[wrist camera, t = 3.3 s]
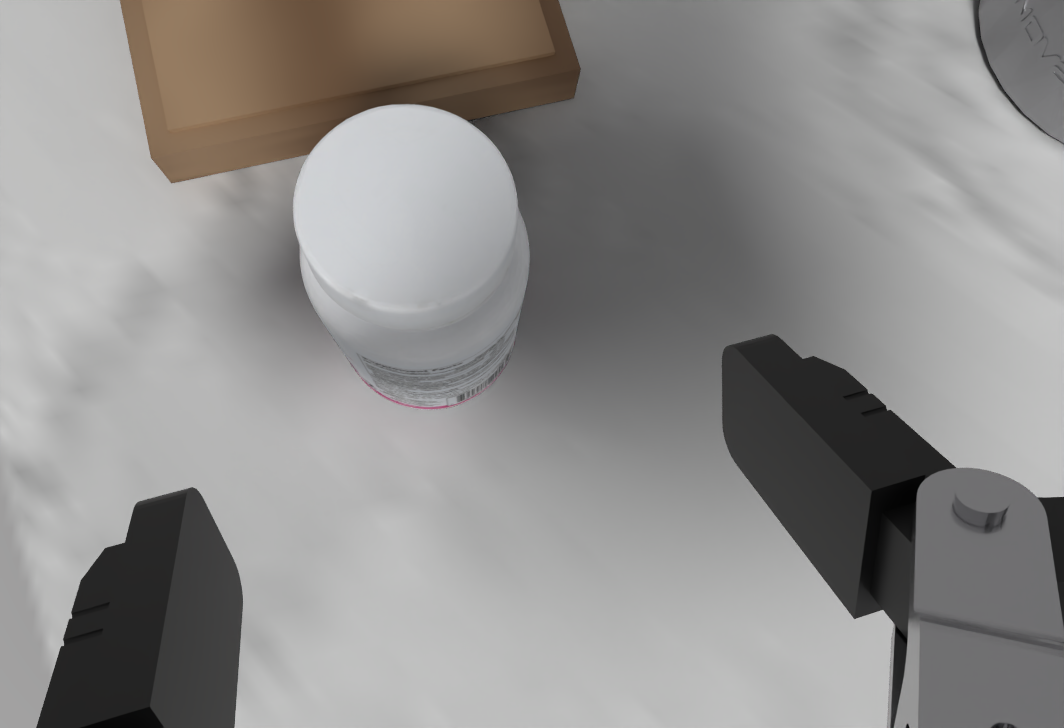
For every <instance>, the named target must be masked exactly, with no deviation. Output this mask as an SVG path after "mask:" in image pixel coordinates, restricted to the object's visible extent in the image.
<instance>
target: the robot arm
mask: <svg viewBox="0 0 1064 728" xmlns="http://www.w3.org/2000/svg"><path fill="white" fill-rule="evenodd" d="M979 21H980V31H981V39H982V42H983V45H984V48H985V51H986V54H987V57H988V60H989V63H990V66H991V68H992V69H993V71H994V73H995V75H996V76H997V78H998V80H999V82H1000V83H1001V85H1002V87H1003V89H1004V91H1005V92H1006V93H1007V94H1008V95H1009V96H1010V98H1011V99H1012V100H1013V101H1014V102H1015V104H1016V105H1017V106H1018V107H1019V108H1020V110H1021V111H1022V112H1023V113H1024V114H1025V115H1026V116H1027V117H1028V118H1030V119H1031V120H1032V121H1033V122H1034V123H1035V124H1037V125H1038V126H1039V127H1040V128H1041V129H1043V130H1044V131H1045V132H1046V133H1047V134H1049V135H1050V136H1052V137H1054V138H1056V139H1057V140H1059V141H1061V142H1062V143H1064V0H980V5H979ZM722 421H723V432H724V437H725V441H726V444H727V447H728V450H729V452H730V454H731V456H732V458H733V460H734V462H735V463H736V464H737V466H738V467H739V468H740V470H741V471H742V472H743V474H744V475H745V476H746V478H747V479H748V480H749V482H750V483H751V484H752V485H753V487H754V488H755V489H756V491H757V492H758V493H759V495H760V496H761V497H762V499H763V500H764V501H765V502H766V504H767V505H768V506H769V508H770V509H771V510H772V512H773V513H774V514H775V516H776V517H777V518H778V520H779V521H780V522H781V523H782V525H783V526H784V527H785V529H786V530H787V531H788V533H789V534H790V535H791V537H792V538H793V539H794V541H795V542H796V543H797V544H798V546H799V547H800V548H801V550H802V551H803V552H804V554H805V555H806V556H807V558H808V559H809V560H810V561H811V563H812V564H813V565H814V567H815V568H816V569H817V571H818V572H819V573H820V575H821V576H822V577H823V579H824V580H825V581H826V582H827V584H828V585H829V586H830V588H831V589H832V590H833V592H834V593H835V594H836V596H837V597H838V598H839V599H840V601H841V602H842V603H843V605H844V606H845V607H846V609H847V610H848V611H849V613H850V614H851V615H852V617H853V618H854V619H856V618H859V617H862V616H865V615H868V614H871V613H874V612H877V611H880V610H884V611H885V613H886V614H887V615H888V616H889V618H890V619H891V620H892V621H893V622H894V626H893V632H892V638H891V657H890V677H889V696H888V716H887V728H1064V497H1050V498H1037V497H1036V496H1035V495H1034V494H1033V493H1032V492H1031V491H1030V490H1028V489H1027V488H1026V487H1024V486H1023V485H1021V484H1020V483H1018V482H1016V481H1014V480H1012V479H1010V478H1008V477H1006V476H1003V475H1001V474H998V473H994V472H991V471H987V470H981V469H974V468H956V467H955V466H954V465H952V464H951V463H950V462H949V461H948V460H947V459H946V458H945V457H943V456H942V455H941V454H940V453H939V452H938V451H937V450H935V449H934V448H933V447H932V446H931V445H930V444H929V443H928V442H926V441H925V440H924V439H923V438H922V437H921V436H920V435H918V434H917V433H916V432H915V431H914V430H913V429H912V428H910V427H909V426H908V425H907V424H906V423H905V422H904V421H903V420H901V419H900V418H899V417H898V416H897V415H896V414H895V413H893V412H892V411H891V410H888V411H887V409H886V405H884V404H883V403H882V402H881V401H880V400H879V399H878V398H876V397H875V396H874V395H873V394H869V393H868V390H867V389H866V388H865V387H864V386H863V385H862V384H861V383H859V382H858V381H857V380H856V379H855V378H854V377H853V376H852V375H850V374H849V373H848V372H847V371H846V370H844V369H842V368H840V367H837V366H835V365H833V364H830V363H828V362H826V361H824V360H821V359H819V358H817V357H814V356H812V357H809V358H805V359H802V358H801V357H800V356H799V355H798V354H796V353H795V352H794V351H793V350H792V349H791V348H790V347H789V346H788V345H787V344H786V343H785V342H784V341H783V340H781V339H780V338H779V337H778V336H776V335H773V334H771V335H767V336H763V337H759V338H756V339H752V340H748V341H744V342H741V343H737V344H733V345H729V346H727V347H726V348H725V349H724V352H723V356H722ZM242 609H243V595H242V587H241V581H240V577H239V573H238V570H237V567H236V564H235V562H234V559H233V557H232V555H231V553H230V551H229V549H228V547H227V545H226V543H225V541H224V539H223V537H222V535H221V533H220V531H219V529H218V527H217V525H216V523H215V521H214V519H213V517H212V515H211V513H210V511H209V509H208V507H207V505H206V503H205V501H204V499H203V497H202V496H201V494H200V493H199V491H198V490H197V489H195V488H193V487H192V488H188V489H184V490H181V491H177V492H173V493H169V494H166V495H162V496H158V497H154V498H151V499H147V500H143V501H139V502H138V503H136V505H135V507H134V510H133V513H132V517H131V521H130V525H129V529H128V533H127V537H126V541H125V543H122V544H119V545H115V546H111V547H108V548H105V549H104V551H103V552H102V553H101V555H100V556H99V557H98V559H97V560H96V561H95V563H94V564H93V565H92V566H91V568H90V569H89V570H88V572H87V573H86V574H85V576H84V577H83V578H82V580H81V582H80V585H79V589H78V592H77V595H76V599H75V602H74V605H73V609H72V612H71V613H72V619H69V622H68V625H67V628H66V632H65V635H64V638H63V641H64V646H62V647H61V648H60V651H59V655H58V658H57V661H56V665H55V668H54V671H53V674H52V678H51V681H50V684H49V688H48V691H47V694H46V698H45V701H44V704H43V707H42V711H41V714H40V717H39V721H38V724H37V727H36V728H234V725H235V710H236V696H237V682H238V667H239V653H240V638H241V624H242Z"/></svg>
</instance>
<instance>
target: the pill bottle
mask: <svg viewBox="0 0 1064 728" xmlns="http://www.w3.org/2000/svg"><path fill="white" fill-rule="evenodd" d="M293 219H294V227H295V232H296V236H297V239H298V242H299V245H300V267H301V274H302V279H303V283H304V286H305V289H306V292H307V294H308V297H309V299H310V301H311V303H312V305H313V307H314V309H315V311H316V313H317V314H318V316H319V318H320V319H321V321H322V322H323V324H324V325H325V327H326V328H327V330H328V331H329V333H330V334H331V336H332V337H333V338H334V340H335V341H336V343H337V344H338V346H339V347H340V349H341V350H342V352H343V353H344V354H345V356H346V358H347V359H348V361H349V362H350V364H351V365H352V366H353V368H354V369H355V371H356V372H357V373H358V375H359V376H360V377H361V378H362V380H363V381H364V382H365V383H366V384H367V385H368V386H369V387H370V388H371V389H372V390H374V391H375V392H376V393H378V394H379V395H380V396H382V397H384V398H386V399H387V400H389V401H392V402H394V403H396V404H399V405H402V406H405V407H410V408H415V409H423V410H438V409H445V408H450V407H454V406H457V405H460V404H462V403H465V402H467V401H469V400H471V399H473V398H475V397H476V396H478V395H479V394H481V393H482V392H483V391H485V390H486V389H487V388H488V387H489V386H490V385H491V384H492V383H493V382H494V381H495V380H496V379H497V378H498V376H499V375H500V374H501V372H502V371H503V369H504V368H505V366H506V364H507V362H508V360H509V358H510V356H511V353H512V350H513V347H514V343H515V338H516V333H517V326H518V322H519V317H520V313H521V308H522V304H523V300H524V295H525V291H526V286H527V282H528V275H529V264H530V249H529V241H528V235H527V230H526V226H525V223H524V220H523V218H522V215H521V213H520V211H519V209H518V199H517V191H516V187H515V183H514V180H513V176H512V173H511V171H510V169H509V167H508V165H507V163H506V161H505V159H504V158H503V156H502V154H501V153H500V151H499V150H498V149H497V147H496V146H495V145H494V143H493V142H492V141H491V140H490V139H489V138H488V137H487V136H486V135H485V134H484V133H483V132H481V131H480V130H479V129H478V128H477V127H475V126H474V125H472V124H471V123H469V122H468V121H466V120H465V119H463V118H461V117H459V116H457V115H455V114H452V113H450V112H447V111H444V110H441V109H438V108H434V107H430V106H424V105H415V104H392V105H386V106H380V107H376V108H372V109H368V110H366V111H363V112H361V113H359V114H356V115H354V116H352V117H350V118H348V119H346V120H345V121H343V122H342V123H340V124H339V125H337V126H336V127H334V128H333V129H332V130H331V131H330V132H329V133H328V134H326V135H325V136H324V137H323V138H322V139H321V140H320V141H319V143H318V144H317V145H316V146H315V147H314V148H313V150H312V151H311V153H310V154H309V156H308V157H307V159H306V161H305V162H304V164H303V166H302V168H301V171H300V173H299V176H298V179H297V183H296V186H295V190H294V198H293Z"/></svg>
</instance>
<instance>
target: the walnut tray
mask: <svg viewBox="0 0 1064 728" xmlns="http://www.w3.org/2000/svg"><path fill="white" fill-rule="evenodd" d="M120 3H121V8H122V13H123V18H124V23H125V28H126V33H127V38H128V43H129V48H130V53H131V58H132V64H133V69H134V74H135V79H136V84H137V89H138V94H139V99H140V104H141V109H142V114H143V119H144V124H145V129H146V134H147V139H148V145H149V150H150V155H151V158H152V160H153V161H154V162H155V163H156V164H157V166H158V167H159V168H160V169H161V171H162V172H163V173H164V174H165V176H166V177H167V178H168V179H169V180H170V182H171V183H175V182H180V181H185V180H189V179H194V178H199V177H203V176H208V175H213V174H218V173H222V172H227V171H232V170H236V169H241V168H246V167H251V166H255V165H260V164H265V163H270V162H274V161H279V160H284V159H288V158H293V157H298V156H303V155H307V154H310V153H311V151H312V150H313V148H314V147H315V146H316V145H317V144H318V143H319V141H320V140H321V139H322V138H323V137H324V136H325V135H326V134H328V133H329V132H330V131H331V130H332V129H333V128H334V127H336V126H337V125H339V124H340V123H342V122H343V121H345V120H346V119H348V118H350V117H352V116H354V115H356V114H359V113H361V112H363V111H366V110H368V109H372V108H376V107H380V106H386V105H392V104H415V105H424V106H430V107H434V108H438V109H441V110H444V111H447V112H450V113H452V114H455V115H457V116H459V117H461V118H463V119H465V120H466V121H468V120H472V119H477V118H482V117H487V116H491V115H496V114H501V113H506V112H510V111H515V110H520V109H524V108H529V107H534V106H539V105H543V104H548V103H553V102H557V101H562V100H567V99H572V98H574V95H575V91H576V86H577V82H578V78H579V74H580V66H579V63H578V59H577V56H576V53H575V50H574V47H573V44H572V41H571V38H570V35H569V32H568V29H567V26H566V23H565V20H564V17H563V14H562V10H561V7H560V4H559V1H558V0H120Z"/></svg>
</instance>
